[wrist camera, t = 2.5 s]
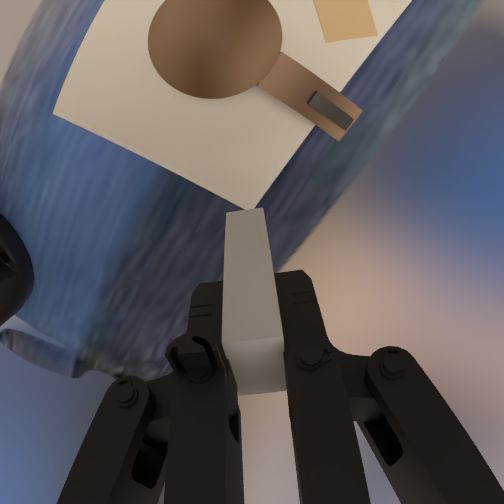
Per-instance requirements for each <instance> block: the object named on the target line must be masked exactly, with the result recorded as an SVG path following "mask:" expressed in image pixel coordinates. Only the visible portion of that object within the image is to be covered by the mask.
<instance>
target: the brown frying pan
mask: <svg viewBox="0 0 504 504" xmlns="http://www.w3.org/2000/svg"><path fill="white" fill-rule="evenodd" d="M281 46H282V27H281V23H280V19H279V16H278V14H277V12H276V10H275V9H274V7H273V6H272V4H271V3H270V2H269V1H268V0H165V1H164V2H163V3H162V5H161V6H160V7H159V9H158V10H157V12H156V13H155V15H154V17H153V19H152V22H151V24H150V28H149V32H148V51H149V56H150V59H151V61H152V64H153V66H154V68H155V69H156V71H157V72H158V74H159V75H160V76H161V78H162V79H163V80H164V81H165V82H166V83H168V84H169V85H170V86H172V87H173V88H175V89H176V90H178V91H180V92H182V93H184V94H187V95H190V96H193V97H198V98H203V99H220V98H226V97H231V96H234V95H238V94H240V93H242V92H245V91H247V90H249V89H250V88H252V87H254V86H255V85H256V86H257V87H259V88H260V89H262V90H264V91H265V92H267V93H269V94H270V95H272V96H273V97H275V98H276V99H278V100H280V101H281V102H283V103H284V104H286V105H287V106H289V107H290V108H292V109H293V110H295V111H296V112H298V113H299V114H301V115H302V116H304V117H305V118H307V119H308V120H310V121H311V122H313V123H314V124H315V125H317V126H318V127H320V128H321V129H322V130H324V131H325V132H327V133H328V134H329V135H331V136H332V137H333V138H335V139H336V140H338V141H340V140H341V138H342V137H343V136H344V135H345V133H346V132H347V131H348V129H349V128H350V127H351V125H352V124H353V123H354V122H355V120H356V119H357V118H358V116H359V115H360V114H361V112H362V110H361V109H360V108H358V107H357V106H356V105H355V104H354V103H352V102H351V101H350V100H349V99H347V98H346V97H345V96H343V95H342V94H341V93H340V92H338V91H337V90H336V89H334V88H333V87H332V86H330V85H329V84H328V83H326V82H325V81H324V80H322V79H321V78H319V77H318V76H317V75H315V74H314V73H312V72H311V71H310V70H308V69H307V68H305V67H304V66H302V65H301V64H299V63H298V62H296V61H295V60H293V59H292V58H290V57H289V56H287V55H286V54H284V53H283V52H280V50H281Z"/></svg>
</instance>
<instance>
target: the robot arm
mask: <svg viewBox="0 0 504 504" xmlns="http://www.w3.org/2000/svg"><path fill="white" fill-rule="evenodd" d="M32 287H33V271H32V266H31V262H30V259H29V257H28V254H27V252H26V250H25V247H24V246H23V244H22V242H21V240H20V239H19V237H18V235H17V234H16V232H15V231H14V230H13V228H12V227H11V226H10V225H9V223H8V222H7V221H6V220H5V219H4V218H3V217H2V216H1V215H0V326H1V325H2V324H3V323H5V321H7V320H8V319H9V318H10V317H12V316H13V315H14V314H15V313H17V312H18V311H19V310H20V309H21V308H22V306H23V305H24V303H25V301H26V300H27V298H28V296H29V295H30V293H31V290H32ZM190 308H191V309H190V312H189V320H188V328H187V334H183V335H181V336H179V337H178V338H176V339H174V340H173V341H172V343H171V344H170V345H169V346H168V348H167V350H166V353H165V356H166V358H167V359H168V361H169V363H170V365H171V367H172V368H173V370H174V371H173V372H171V373H170V374H168V375H166V376H164V377H161V378H158V379H155V380H152V381H149V382H144V381H143V380H142V379H140V378H138V377H136V376H125V377H122V378H119V379H118V380H116V381H115V382H113V383H112V384H111V386H110V387H109V388H108V390H107V392H106V394H105V396H104V398H103V400H102V402H101V404H100V406H99V408H98V410H97V412H96V414H95V417H94V419H93V421H92V423H91V425H90V427H89V430H88V432H87V434H86V436H85V438H84V441H83V443H82V445H81V447H80V449H79V452H78V454H77V456H76V459H75V461H74V463H73V466H72V468H71V470H70V472H69V475H68V477H67V480H66V482H65V484H64V487H63V489H62V492H61V494H60V497H59V499H58V502H57V504H157V503H158V500H159V497H160V494H161V491H162V488H163V485H164V481H165V493H164V504H244V488H243V487H244V485H243V464H242V439H241V413H240V409H239V406H238V396H237V391H238V393H239V395H251V394H261V393H270V392H278V391H286V390H287V395H288V405H289V417H290V422H291V429H292V438H293V446H294V454H295V463H296V471H297V481H298V489H299V498H300V504H371V503H370V498H369V493H368V488H367V483H366V478H365V473H364V468H363V463H362V458H361V454H360V449H359V445H358V440H357V436H356V431H355V427H354V423H353V421H357V423H358V425H359V427H360V429H361V431H362V432H363V434H364V436H365V438H366V440H367V441H368V443H369V445H370V447H371V449H372V451H373V452H374V454H375V456H376V458H377V460H378V462H379V463H380V465H381V467H382V469H383V471H384V473H385V474H386V476H387V478H388V480H389V481H390V484H391V485H392V487H393V489H394V491H395V493H396V495H397V497H398V498H399V500H400V502H401V504H504V491H503V489H502V487H501V486H500V484H499V482H498V481H497V479H496V477H495V476H494V474H493V473H492V471H491V469H490V468H489V466H488V465H487V463H486V461H485V460H484V458H483V456H482V455H481V453H480V452H479V450H478V449H477V447H476V446H475V444H474V443H473V441H472V440H471V438H470V436H469V435H468V433H467V432H466V430H465V429H464V428H463V426H462V424H461V423H460V422H459V420H458V419H457V417H456V416H455V414H454V413H453V411H452V410H451V409H450V407H449V406H448V404H447V403H446V401H445V400H444V398H443V397H442V396H441V394H440V393H439V391H438V390H437V389H436V387H435V386H434V385H433V383H432V382H431V380H430V379H429V378H428V376H427V375H426V374H425V373H424V371H423V369H422V368H421V367H420V365H419V364H418V363H417V361H416V360H415V359H414V357H413V356H412V355H411V354H410V353H409V352H408V351H406V350H404V349H401V348H399V347H394V346H393V347H392V346H387V347H383V348H380V349H378V350H377V351H375V352H374V353H373V354H372V355H371V356H359V355H351V354H346V353H344V352H341V351H339V350H338V349H337V348H335V347H334V346H333V345H332V344H331V343H330V341H329V339H328V337H327V334H326V330H325V326H324V322H323V319H322V315H321V311H320V308H319V304H318V302H317V297H316V294H315V290H314V287H313V284H312V280H311V278H310V277H309V276H308V275H307V274H306V273H305V272H304V271H303V270H297V271H289V272H281V273H274V272H273V266H272V260H271V253H270V247H269V241H268V235H267V229H266V223H265V217H264V211H263V208H256V209H249V210H241V211H234V212H227V213H226V228H225V252H224V279H223V281H218V282H210V283H201V284H199V285H198V286H197V288H196V289H195V291H194V292H193V294H192V297H191V305H190Z"/></svg>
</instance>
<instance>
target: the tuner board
mask: <svg viewBox="0 0 504 504" xmlns="http://www.w3.org/2000/svg"><path fill="white" fill-rule="evenodd" d="M164 1H165V0H105V1H104V3H103V4H102V6H101V8H100V10H99V11H98V13H97V15H96V17H95V19H94V20H93V22H92V24H91V26H90V28H89V30H88V32H87V34H86V36H85V38H84V40H83V42H82V44H81V46H80V48H79V50H78V52H77V54H76V56H75V59H74V61H73V63H72V65H71V68H70V70H69V72H68V75H67V77H66V79H65V82H64V84H63V87H62V89H61V92H60V95H59V97H58V100H57V103H56V105H55V108H54V111H53V114H54V115H56V116H58V117H61V118H63V119H65V120H67V121H69V122H71V123H74V124H76V125H78V126H80V127H82V128H84V129H86V130H88V131H91V132H93V133H95V134H97V135H99V136H101V137H103V138H105V139H107V140H109V141H111V142H113V143H116V144H118V145H120V146H122V147H124V148H126V149H128V150H130V151H132V152H134V153H136V154H138V155H140V156H142V157H144V158H146V159H148V160H150V161H152V162H154V163H156V164H158V165H160V166H162V167H164V168H166V169H168V170H170V171H172V172H174V173H176V174H178V175H180V176H182V177H184V178H186V179H188V180H190V181H192V182H194V183H195V184H197V185H199V186H201V187H203V188H205V189H207V190H209V191H211V192H213V193H215V194H217V195H219V196H220V197H222V198H224V199H226V200H228V201H230V202H232V203H234V204H236V205H237V206H239V207H241V208H243V209H245V210H249V209H254V208H255V206H256V205H257V204H258V202H259V201H260V199H261V198H262V197H263V195H264V194H265V192H266V191H267V190H268V188H269V187H270V186H271V184H272V183H273V181H274V180H275V179H276V177H277V176H278V175H279V173H280V172H281V171H282V169H283V168H284V166H285V165H286V164H287V162H288V161H289V160H290V158H291V157H292V156H293V154H294V153H295V152H296V150H297V149H298V147H299V146H300V145H301V143H302V142H303V141H304V139H305V138H306V137H307V135H308V134H309V133H310V131H311V130H312V129H313V127H314V126H315V124H314V123H313V122H311V121H310V120H308V119H307V118H305V117H304V116H302V115H301V114H299V113H298V112H296V111H295V110H293V109H292V108H290V107H289V106H287V105H286V104H284V103H283V102H281V101H280V100H278V99H276V98H275V97H273V96H272V95H270V94H269V93H267V92H265V91H264V90H262V89H260V88H259V87H257V86H256V85H255V86H254V87H252V88H250V89H249V90H247V91H245V92H242V93H240V94H238V95H234V96H231V97H226V98H220V99H203V98H198V97H193V96H190V95H187V94H184V93H182V92H180V91H178V90H176V89H175V88H173V87H172V86H170V85H169V84H168V83H166V82H165V81H164V80H163V79H162V78H161V76H160V75H159V74H158V72H157V71H156V69H155V68H154V66H153V64H152V61H151V59H150V56H149V51H148V32H149V28H150V24H151V22H152V19H153V17H154V15H155V13H156V12H157V10H158V9H159V7H160V6H161V5H162V3H163V2H164ZM268 1H269V2H270V3H271V4H272V6H273V7H274V9H275V10H276V12H277V14H278V16H279V19H280V23H281V27H282V46H281V50H280V52H283V53H284V54H286V55H287V56H289V57H290V58H292V59H293V60H295V61H296V62H298V63H299V64H301V65H302V66H304V67H305V68H307V69H308V70H310V71H311V72H312V73H314V74H315V75H317V76H318V77H319V78H321V79H322V80H324V81H325V82H326V83H328V84H329V85H330V86H332V87H333V88H334V89H336V90H337V91H338V92H341V90H342V89H343V88H344V86H345V85H346V84H347V82H348V81H349V80H350V78H351V77H352V76H353V75H354V73H355V72H356V71H357V69H358V68H359V67H360V65H361V64H362V63H363V62H364V60H365V59H366V58H367V56H368V55H369V54H370V53H371V51H372V50H373V49H374V48H375V46H376V45H377V44H378V42H379V41H380V40H381V39H382V37H383V36H384V35H385V34H386V32H387V31H388V30H389V28H390V27H391V26H392V25H393V23H394V22H395V21H396V20H397V18H398V17H399V16H400V15H401V13H402V12H403V11H404V10H405V8H406V7H407V6H408V5H409V3H410V2H411V1H412V0H268Z"/></svg>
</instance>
